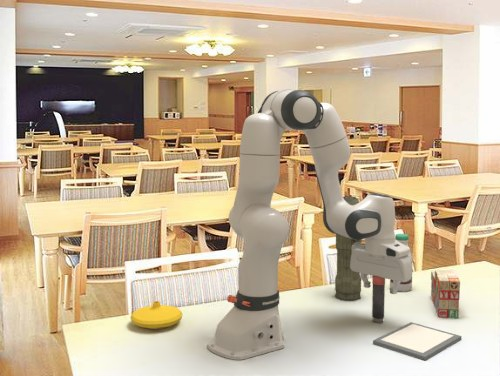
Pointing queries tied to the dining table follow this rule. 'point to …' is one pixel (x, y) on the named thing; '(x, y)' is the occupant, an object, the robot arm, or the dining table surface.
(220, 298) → the dining table surface
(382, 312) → the marker
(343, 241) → the thermos
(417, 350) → the writing board
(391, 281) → the milk bottle
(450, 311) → the stack of blocks
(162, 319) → the yellow lid
